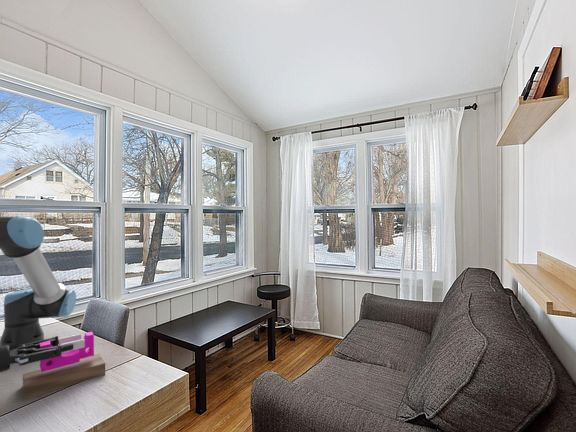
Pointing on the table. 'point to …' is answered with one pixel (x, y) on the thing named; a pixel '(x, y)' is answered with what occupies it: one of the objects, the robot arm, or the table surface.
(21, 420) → the table surface
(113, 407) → the table surface
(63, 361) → the toy block
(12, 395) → the table surface
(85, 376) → the base brick
